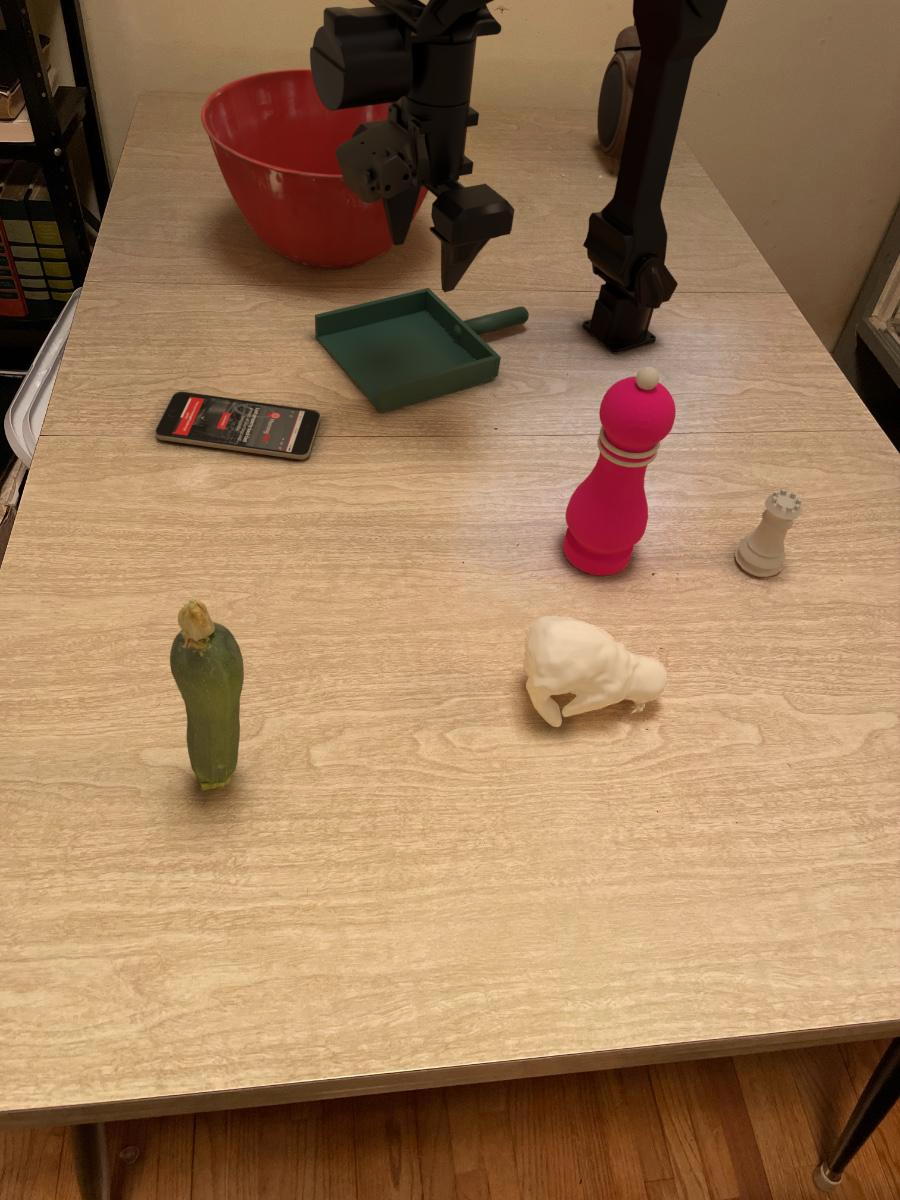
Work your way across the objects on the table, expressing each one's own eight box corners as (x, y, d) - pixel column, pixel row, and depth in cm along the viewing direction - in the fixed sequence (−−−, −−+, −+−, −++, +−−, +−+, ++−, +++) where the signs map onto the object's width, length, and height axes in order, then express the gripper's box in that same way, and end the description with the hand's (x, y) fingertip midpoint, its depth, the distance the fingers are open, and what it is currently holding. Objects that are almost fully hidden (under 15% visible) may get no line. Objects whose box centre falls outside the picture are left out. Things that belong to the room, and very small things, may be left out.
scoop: (381, 413, 99) (382, 390, 97) (314, 337, 108) (314, 314, 105) (562, 360, 109) (567, 338, 107) (489, 294, 117) (492, 272, 115)
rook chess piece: (781, 584, 88) (814, 520, 82) (733, 574, 88) (762, 510, 83) (780, 551, 91) (811, 487, 85) (733, 541, 91) (761, 477, 86)
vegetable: (195, 750, 71) (161, 560, 56) (255, 749, 71) (237, 560, 56) (189, 803, 68) (152, 617, 53) (252, 802, 68) (232, 617, 53)
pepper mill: (584, 589, 85) (638, 405, 71) (542, 536, 89) (586, 352, 75) (650, 567, 88) (715, 385, 73) (606, 516, 92) (660, 335, 77)
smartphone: (175, 390, 97) (321, 410, 97) (176, 396, 98) (321, 416, 98) (152, 434, 92) (307, 456, 92) (153, 440, 93) (307, 462, 93)
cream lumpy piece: (530, 594, 72) (680, 606, 74) (504, 664, 78) (643, 673, 81) (541, 660, 68) (699, 671, 70) (513, 729, 74) (659, 736, 76)
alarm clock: (583, 140, 151) (611, -5, 136) (628, 142, 152) (660, -1, 137) (603, 182, 141) (635, 32, 126) (650, 184, 142) (688, 36, 127)
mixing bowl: (483, 271, 121) (499, 146, 109) (279, 325, 108) (273, 191, 97) (367, 176, 135) (370, 57, 124) (175, 214, 123) (160, 86, 112)
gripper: (298, 62, 81) (301, 236, 93) (409, 154, 72) (397, 336, 83) (411, 49, 86) (401, 217, 98) (530, 134, 76) (503, 309, 88)
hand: (422, 266), depth 91 cm, fingers open, 9 cm apart
